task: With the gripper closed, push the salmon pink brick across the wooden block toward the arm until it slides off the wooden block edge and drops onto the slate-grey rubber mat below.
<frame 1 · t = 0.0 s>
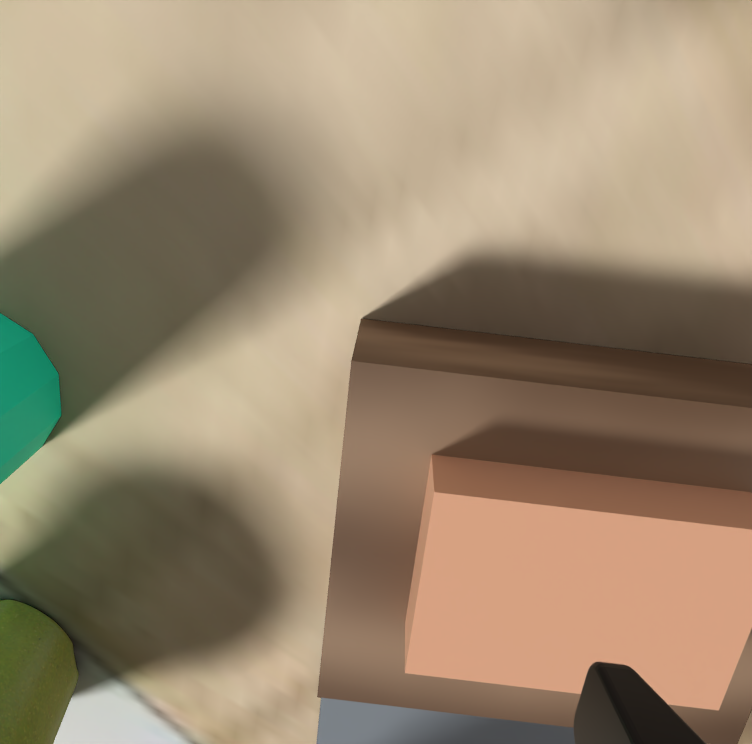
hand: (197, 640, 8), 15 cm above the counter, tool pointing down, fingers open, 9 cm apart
wooden block: (539, 502, 23), on the counter
salmon pink brick: (568, 561, 20), point 4 cm above the counter, touching wooden block
mat: (489, 719, 27), on the counter
plant pot: (12, 648, 27), on the counter
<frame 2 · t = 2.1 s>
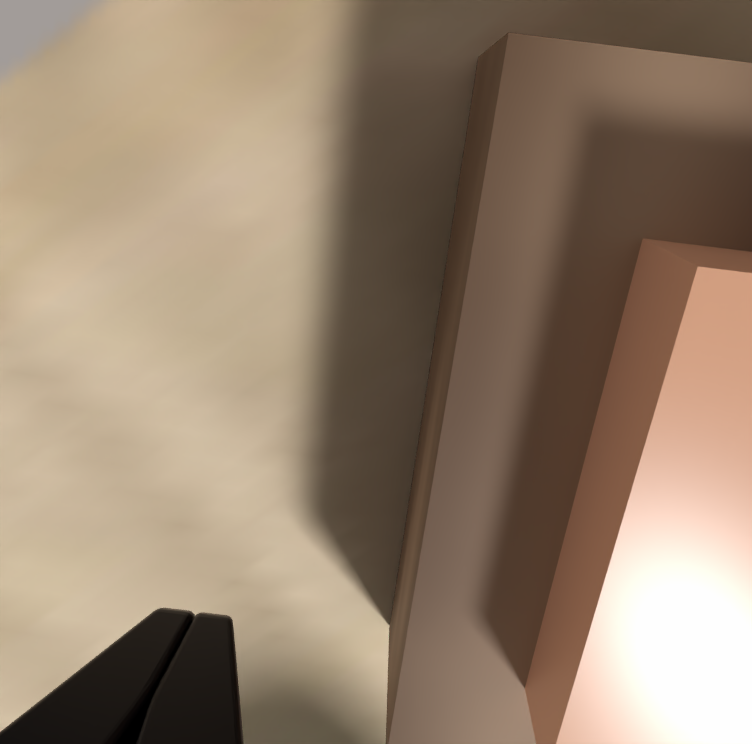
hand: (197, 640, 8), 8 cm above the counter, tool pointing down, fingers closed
wooden block: (683, 421, 15), on the counter
salmon pink brick: (745, 516, 12), point 4 cm above the counter, touching wooden block
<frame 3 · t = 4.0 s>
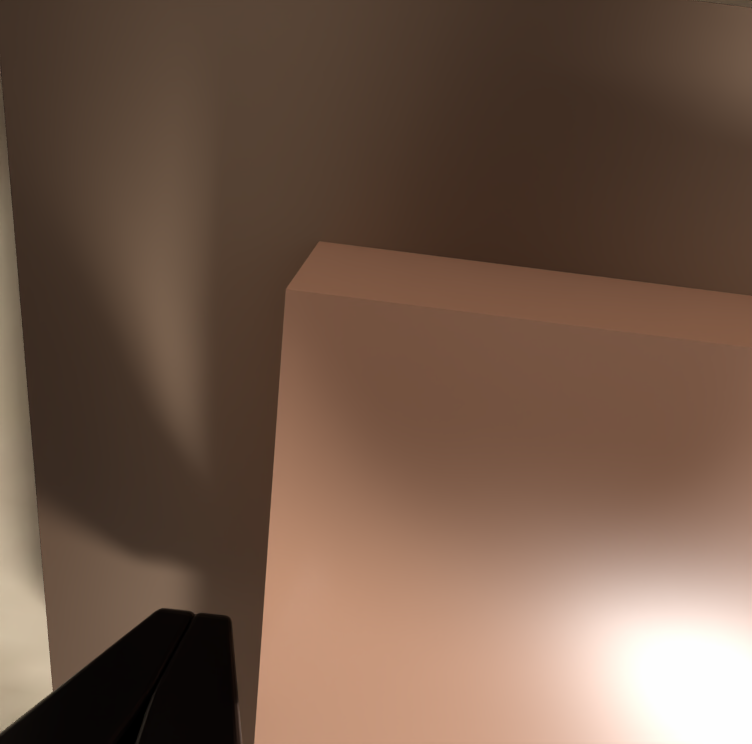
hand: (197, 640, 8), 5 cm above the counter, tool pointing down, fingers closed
wooden block: (480, 466, 12), on the counter
salmon pink brick: (523, 624, 8), point 4 cm above the counter, touching gripper
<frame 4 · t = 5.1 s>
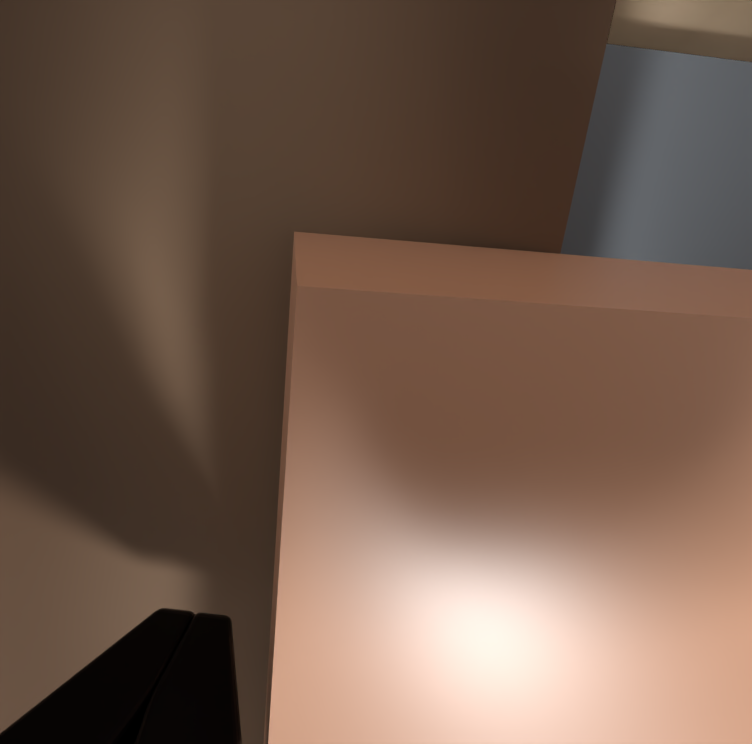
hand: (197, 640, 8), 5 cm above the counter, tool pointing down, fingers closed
wooden block: (131, 421, 12), on the counter
salmon pink brick: (511, 607, 8), point 4 cm above the counter, tilted 10°, touching gripper
mat: (700, 492, 12), on the counter
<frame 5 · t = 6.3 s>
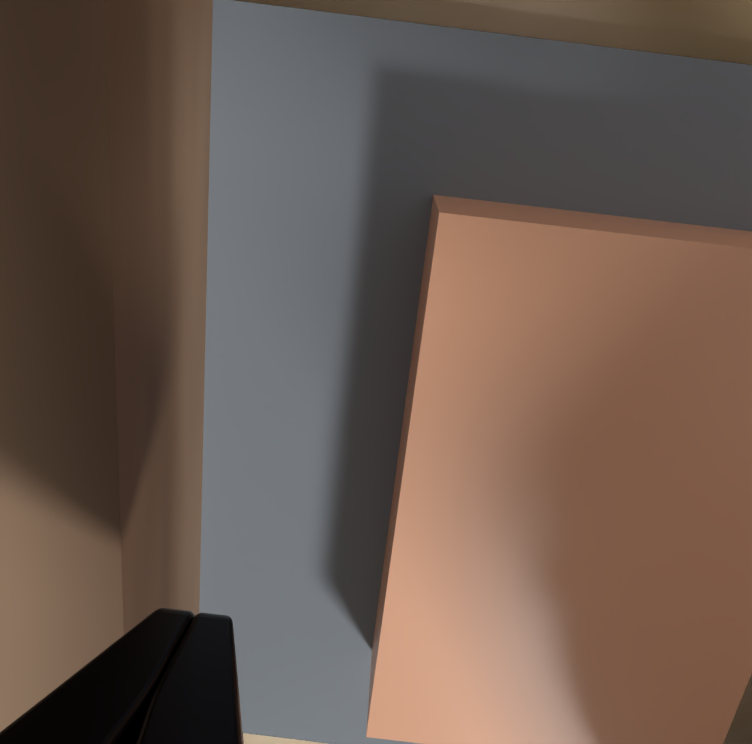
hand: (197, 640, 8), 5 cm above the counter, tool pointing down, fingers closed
salmon pink brick: (596, 541, 10), point 2 cm above the counter, tilted 180°, touching mat
mat: (451, 461, 12), on the counter
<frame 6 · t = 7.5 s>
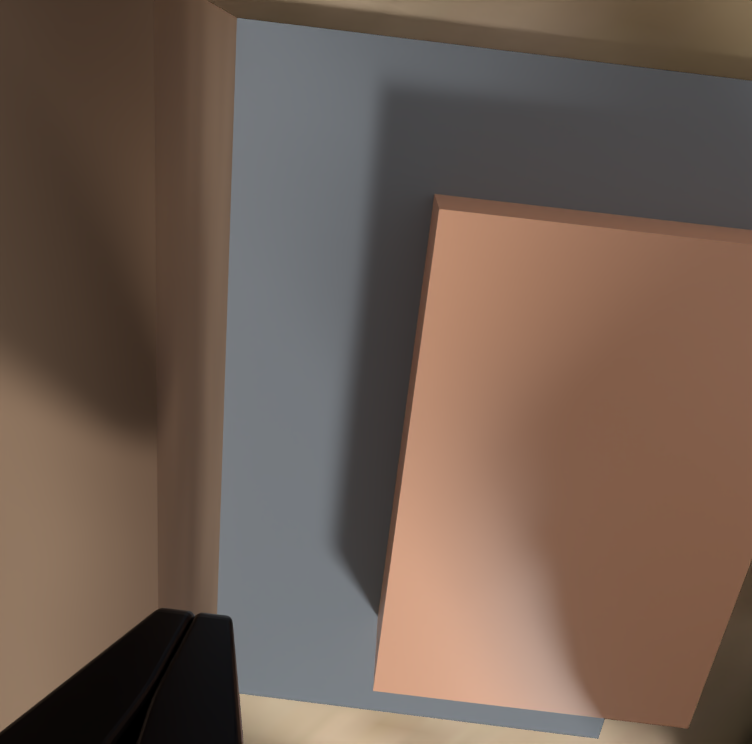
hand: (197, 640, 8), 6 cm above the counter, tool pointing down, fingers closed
salmon pink brick: (582, 507, 11), point 2 cm above the counter, tilted 180°, touching mat
mat: (451, 439, 13), on the counter
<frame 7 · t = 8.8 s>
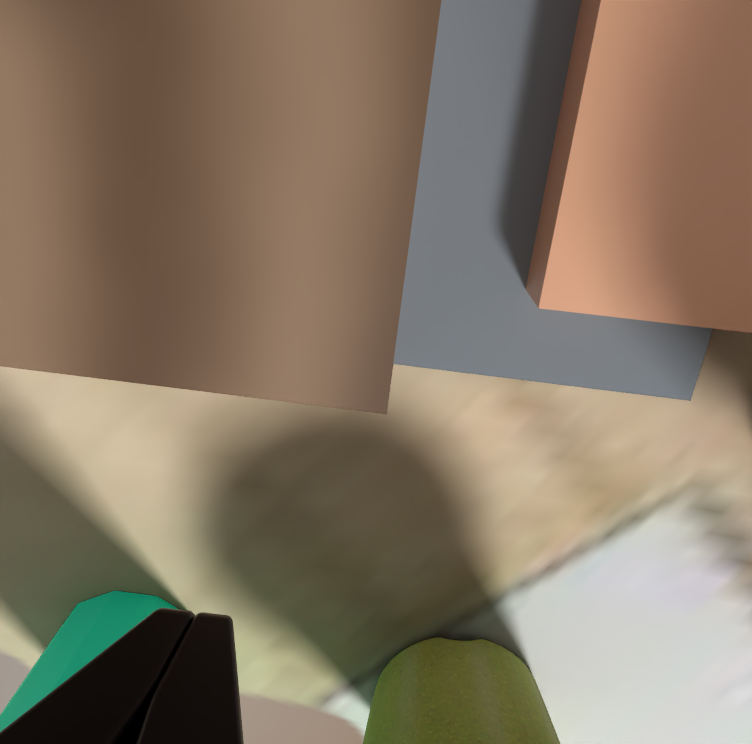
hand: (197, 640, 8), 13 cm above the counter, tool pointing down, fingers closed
wooden block: (198, 85, 17), on the counter
salmon pink brick: (706, 135, 15), point 2 cm above the counter, tilted 180°, touching mat
candle: (138, 651, 25), on the counter
mat: (591, 133, 17), on the counter
plant pot: (453, 690, 25), on the counter
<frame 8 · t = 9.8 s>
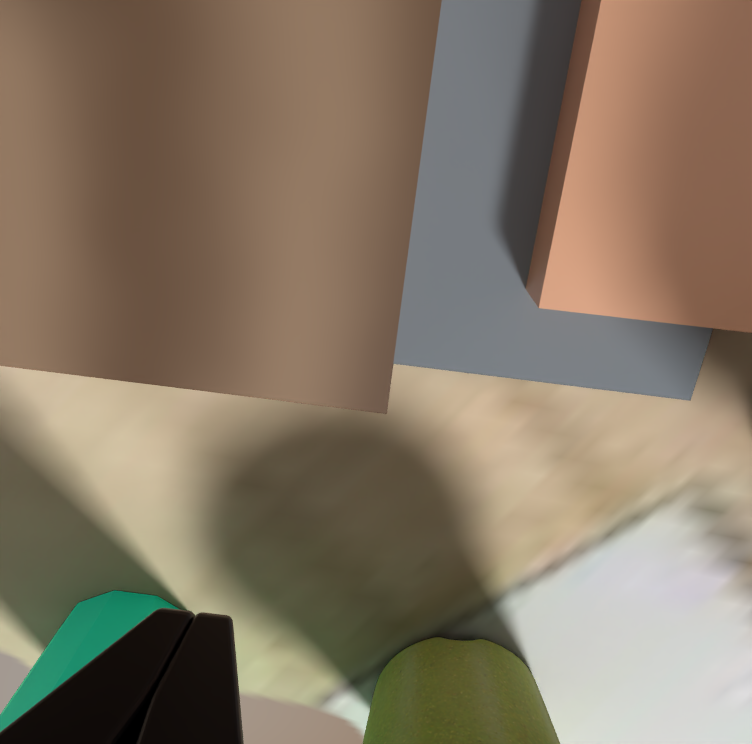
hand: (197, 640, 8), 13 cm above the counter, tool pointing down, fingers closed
wooden block: (198, 84, 17), on the counter
salmon pink brick: (706, 134, 15), point 2 cm above the counter, tilted 180°, touching mat
candle: (138, 651, 25), on the counter
mat: (591, 133, 17), on the counter
plant pot: (453, 690, 25), on the counter
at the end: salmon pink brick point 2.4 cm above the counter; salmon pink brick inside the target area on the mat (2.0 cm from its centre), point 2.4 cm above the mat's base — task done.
